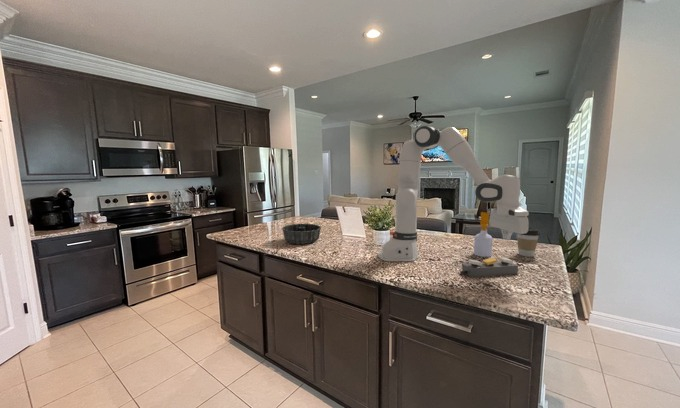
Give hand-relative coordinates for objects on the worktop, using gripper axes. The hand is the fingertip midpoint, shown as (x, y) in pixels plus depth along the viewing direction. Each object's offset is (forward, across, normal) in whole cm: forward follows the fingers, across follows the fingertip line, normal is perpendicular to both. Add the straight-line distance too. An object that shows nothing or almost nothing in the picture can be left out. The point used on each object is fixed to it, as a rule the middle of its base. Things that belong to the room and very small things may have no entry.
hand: (506, 239), depth 133 cm
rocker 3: (+11, 0, 0) cm, 11 cm away
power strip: (+16, 0, -9) cm, 18 cm away
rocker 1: (+11, 0, -16) cm, 19 cm away
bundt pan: (+14, -78, -91) cm, 121 cm away
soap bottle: (+16, -27, +8) cm, 32 cm away
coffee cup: (+16, -22, +32) cm, 42 cm away
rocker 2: (+11, 0, -8) cm, 14 cm away
